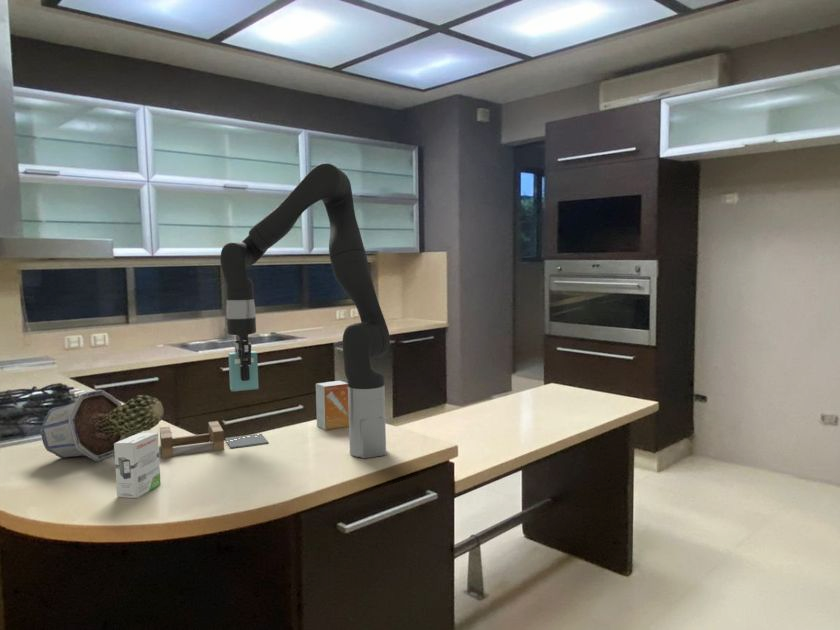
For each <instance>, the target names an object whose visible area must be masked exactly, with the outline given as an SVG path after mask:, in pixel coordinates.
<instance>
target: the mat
mask: <svg viewBox="0 0 840 630" xmlns="http://www.w3.org/2000/svg"><path fill="white" fill-rule="evenodd" d="M257 434H259V435H257ZM247 436H250V437H247ZM255 436H257V437H255ZM243 437H245V438H243ZM239 438H240V439H239ZM234 439H237V440H234ZM230 440H233V441H230ZM224 441H225V442H226V441H228V442H226V443H228V444H227V446H228V445H229V446H228V448H229V447H230V448H232V449H237V448H236V447H239V448H244V447H243V446H246V447H253V446H260V445H259V444H261V445H266V444H267V445H268V444H269V441H268V440H267V438H266V437H265V435H264V434H263V433H261V434H260V433H253V434H246V435H239V436H231V437H224ZM252 445H253V446H252ZM230 448H229V449H230Z"/></svg>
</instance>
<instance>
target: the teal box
mask: <svg viewBox="0 0 840 630" xmlns="http://www.w3.org/2000/svg"><path fill="white" fill-rule="evenodd" d="M240 355H241V354H240ZM243 361H247V358H243ZM258 364H259V363H258V352H257V351H256V350H251V365H250V366H249V376H250V379H249V380H247V381H242V380H241V371H240V359H239V358H238V355H237V352H235V351H233V352H228V371H229V372H228V374H229V390H230V392H239V391H241V392H242V391H250V390H251V391H252V390H259V367H258V366H259V365H258Z"/></svg>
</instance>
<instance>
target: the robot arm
mask: <svg viewBox="0 0 840 630" xmlns="http://www.w3.org/2000/svg"><path fill="white" fill-rule="evenodd" d="M350 181H351V180H350V178H349V177H348V175H347V174H346V173H345V172H343V170H341V169H340V168H338V167H337V166H336V165H334V164H332V163H330V162H329V163H328V162H322V163H320V164H317V165H315V166H314V167H313V168H312V169H311V170H310V171H309V172H308V173H307V174H306V175H305V177H303V178H302V179H301V181H300V182H299V183H298V184H297V185H296V187H294V189H292V191H290V193H289V194H288V195H287V196H286V197H285V198H284V199H283V200H282V201H281V203H279V204H278V205H277V206H276V207H275V208H274V209H273V210H272V211H271V212H269V213H268V214H267V215H265V216H264V217H263V218H262V219H260V220H259V221H258V222H257V223H255V224H254V225H253V226H252V227H251V228H250V230H249V231H248V236H247V237H245V238H244V239H243V240H242V241H240V242H239V241H238V242H237V241H230V242H227V243H225V244H224V245H223V246H222V249H221V250H220V256H219V257H220V265H221V270H222V275H223V278H224V281H225V284H226V285H225V287H226V288H225V289H226V308H225V311H226V328H227V329H226V330H227V332H226V333H227V334H228V335H230V336H235V340H233V347H234V352H237V355H238V358H239V359H240V371H241V380H242V381H247V380H249V379H250V376H249V366H250V365H251V351H252V347H253V346H252V342H251V340H249V335H253V334H256V332H257V321H256V319H257V317H256V304H255V299H254V298H255V296H254V295H255V294H254V283H253V280H252V279H251V278H249V277H248V272H247V271H248V270H247V269H248V268H250V267H252V266H253V265H254V264H256V263H257V262H258V261H259V260H260V259H261V258H262V256H263V255H265V253H266V252H267V251H268V250H269V249H270V248H271V247H273V246H274V245H275V244H277V243H278V242H279V241H280V240H282V239H283V238H284V237H285V236H286V235H288V233H289V232H290V231H291V230H292V229H293V228H294V226H295V224H296V223H297V221H298V219H299V218H300V217H301V216H302V214H304V212H305V211H306V210H307V209H308V208H310V207H311V206H312V205H314V204H316V203H318V202H319V201H322V203H323V205H324V207H325V210H326V214H327V217H328V221H329V227H330V229H329V230H330V231H329V232H330V233H329V241H328V255H329V259H330V264H331V269H332V273H333V276H334V278H335V280H336V282H337V283H338V285H339V286H340V287H341V289H343V291H344V292H345V294H346V295H347V296H348V297H349V298H350V299H351V301H352V302H353V305H355V308H356V310H357V312H358V316H359V318H360V321H361V322H355V323H350V324H349V325H347V326H346V327H345V330H344V331H343V335H342V355H343V365H344V366H343V367H344V368H343V369H344V374H345V378H346V381H347V383H348V406H349V426H348V434H349V435H348V436H349V437H348V439H349V454H350V455H351V456H353V457H356V458H361V459H368V458H376V457H380V456H386V455H387V454H386V453H387V437H386V435H387V434H386V399H385V398H386V397H385V396H386V395H385V394H386V393H385V388H386V387H385V375H384V374H383V373H382V372H379V371H376V370H374V369H373V368H372V366H371V365H372V364H371V359H375V358H379V357H383V356H385V355H386V354H387V353H388V351H389V350H390V345H391V338H390V332H389V328H388V325H387V322H386V320H385V315H384V314H383V311H382V309H381V306H380V302H379V300H378V296H377V294H376V290H375V286H374V282H373V279H372V275H371V271H370V266H369V261H368V257H367V253H366V249H365V246H364V242H363V239H362V235H361V231H360V228H359V225H358V220H357V216H356V213H355V205H354V199H353V192H352V191H353V189H352V184H351V182H350ZM240 354H241V355H240ZM243 358H247V361H243Z"/></svg>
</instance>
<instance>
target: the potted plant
mask: <svg viewBox="0 0 840 630" xmlns="http://www.w3.org/2000/svg"><path fill="white" fill-rule="evenodd" d="M164 415H165V411H164V407H163V403H162V401H161V400H159V399H158V398H156V397H152V396H150V395H147V394H137V395H136V396H134V397H132V398H131V399H129V400H127V402H126V403H123V404H122V403H121V402H120V401H119V400H118V399H117V398H116V397H115V396H113V395H112V394H110V393H108V392H106V390H104V389H97V390H93V391H92V390H91V391H87V392H84V393H80V394H79V396H78V397H77V398H76V401H74V402H72V403H69V404H66V405H61V406H59V407H58V406H57V407H53V408H50V409H49V410H48V411H47V414H46V416H44V420H43V422H42V425H41V427H40V430H39V431H40V435H41V436H40V437H41V440H42V444H43V446H44V448H45V450H46V451H47V452H49V453H51V454H53V455H55V456H56V457H58V458H62V459H67V458H72V457H80V456H83V457H85V456H86V457H88V458H89V459H90V460H92V461H94V462H100V461H103V460H106V459H108V458H111V457H113V456H115V452H114V443H116V442H119V441H121V440H123V439H124V438H125V436H129V435H131V434H133V433H137V432H141V433H144V432H147V431H151V430H152V429H153V428H155V427H156V426H157V425H159V423H160V422H161V421H162V420H163V416H164Z"/></svg>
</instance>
